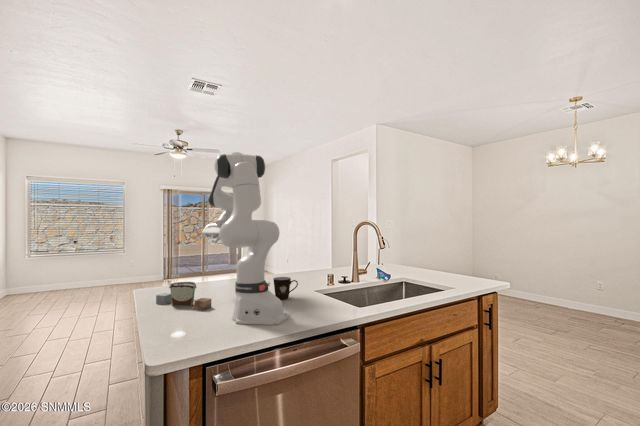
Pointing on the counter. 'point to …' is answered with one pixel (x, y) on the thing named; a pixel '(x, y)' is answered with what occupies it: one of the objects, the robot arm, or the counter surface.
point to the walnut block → (202, 304)
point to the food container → (182, 293)
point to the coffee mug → (283, 287)
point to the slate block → (163, 298)
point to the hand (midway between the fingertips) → (213, 242)
